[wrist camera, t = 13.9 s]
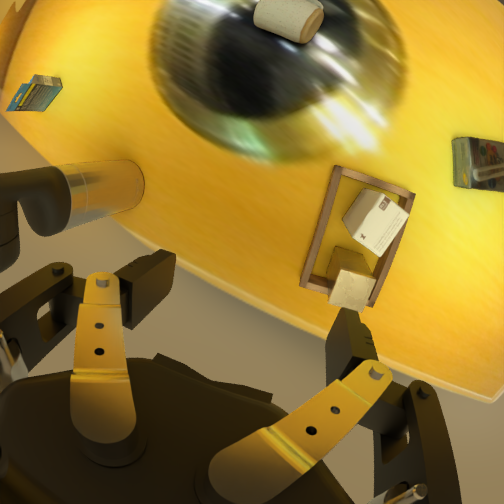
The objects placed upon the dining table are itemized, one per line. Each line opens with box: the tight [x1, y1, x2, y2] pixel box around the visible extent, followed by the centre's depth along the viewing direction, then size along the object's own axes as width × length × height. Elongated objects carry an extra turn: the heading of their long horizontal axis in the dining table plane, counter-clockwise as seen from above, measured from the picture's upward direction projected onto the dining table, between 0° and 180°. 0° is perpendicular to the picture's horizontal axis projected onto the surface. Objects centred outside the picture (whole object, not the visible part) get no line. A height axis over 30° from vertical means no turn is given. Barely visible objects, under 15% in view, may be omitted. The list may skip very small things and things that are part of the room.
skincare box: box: [342, 188, 409, 257], centre depth 32 cm, size 6×4×12 cm
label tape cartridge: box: [6, 75, 62, 111], centre depth 37 cm, size 9×4×12 cm, turn 118°
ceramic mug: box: [254, 0, 324, 44], centre depth 27 cm, size 11×8×8 cm
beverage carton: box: [452, 137, 504, 192], centre depth 27 cm, size 8×19×7 cm, turn 95°
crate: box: [299, 165, 416, 308], centre depth 37 cm, size 12×18×4 cm, turn 167°
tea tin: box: [326, 246, 376, 313], centre depth 36 cm, size 5×5×10 cm
